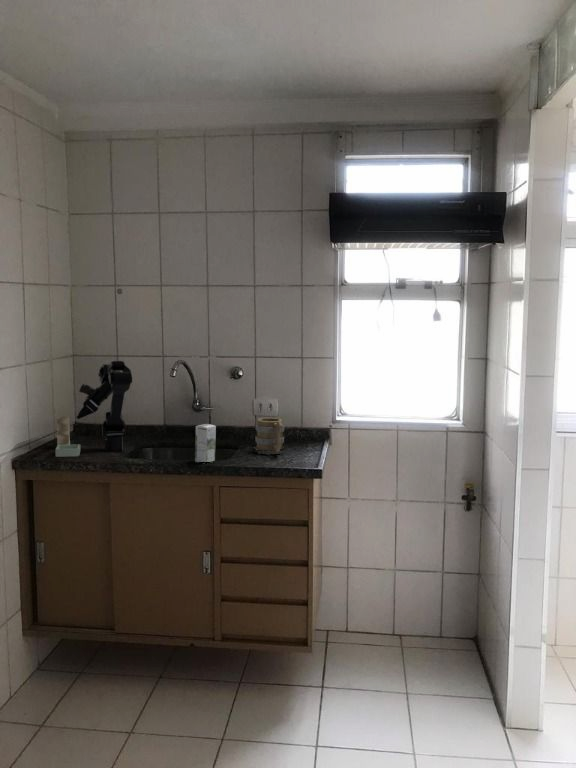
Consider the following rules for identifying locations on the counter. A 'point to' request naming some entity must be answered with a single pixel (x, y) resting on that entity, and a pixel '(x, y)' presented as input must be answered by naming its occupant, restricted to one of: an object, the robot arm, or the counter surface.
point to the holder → (67, 450)
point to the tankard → (269, 434)
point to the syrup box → (205, 443)
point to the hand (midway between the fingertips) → (78, 416)
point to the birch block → (63, 431)
